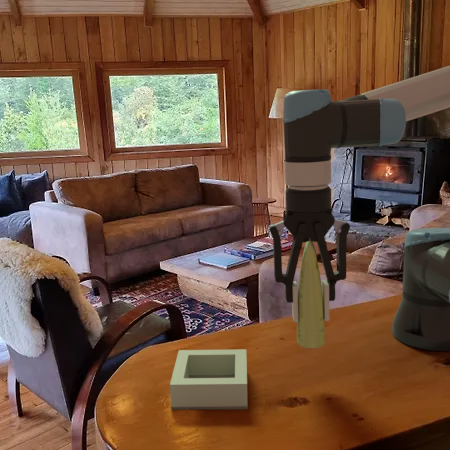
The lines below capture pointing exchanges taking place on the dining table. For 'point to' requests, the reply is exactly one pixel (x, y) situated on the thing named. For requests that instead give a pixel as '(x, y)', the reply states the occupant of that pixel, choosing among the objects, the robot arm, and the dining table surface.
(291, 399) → the dining table surface
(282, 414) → the dining table surface
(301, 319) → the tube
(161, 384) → the dining table surface
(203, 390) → the socket block
